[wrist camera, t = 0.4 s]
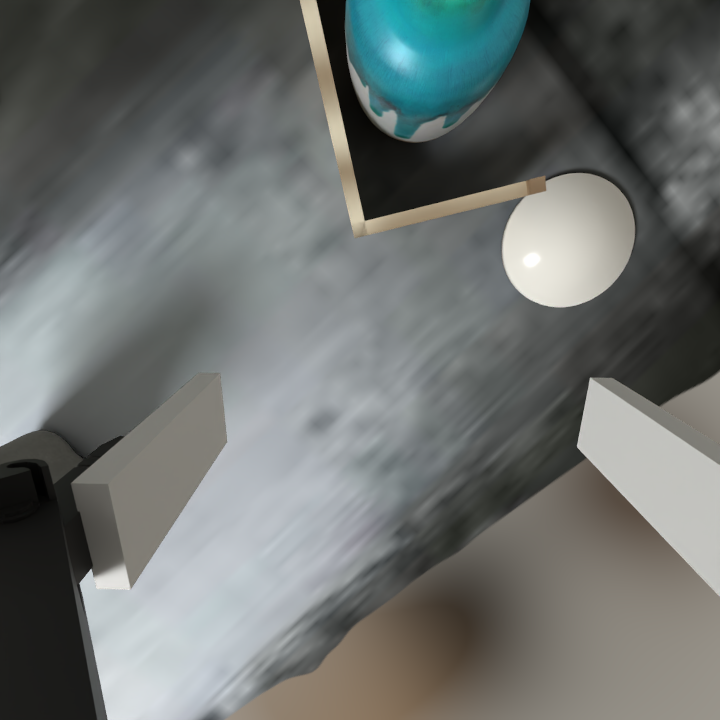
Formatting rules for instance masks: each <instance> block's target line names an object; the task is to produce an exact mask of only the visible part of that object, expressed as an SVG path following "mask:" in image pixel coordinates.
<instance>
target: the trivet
mask: <svg viewBox="0 0 720 720" xmlns="http://www.w3.org/2000/svg"><path fill="white" fill-rule="evenodd" d="M634 238H635V223H634V217H633V213H632V210H631V207H630V205H629V202H628V201H627V199H626V197H625V196H624V195H623V193H622V192H621V191H620V190H619V189H618V188H617V187H616V186H615V185H614V184H612V183H611V182H609V181H607V180H606V179H604V178H601V177H599V176H596V175H592V174H586V173H571V174H565V175H561V176H558V177H555V178H551V179H549V180H547V181H546V191H544V192H540V193H536V194H532V195H528V196H524V197H523V198H522V199H521V200H520V202H519V203H518V204H517V205H516V207H515V208H514V210H513V211H512V213H511V215H510V217H509V219H508V221H507V223H506V226H505V229H504V232H503V238H502V247H501V252H502V261H503V266H504V269H505V272H506V274H507V276H508V278H509V280H510V282H511V283H512V285H513V286H514V287H515V288H516V289H517V290H518V291H519V292H520V293H521V294H522V295H523V296H525V297H526V298H528V299H530V300H532V301H534V302H536V303H539V304H541V305H545V306H550V307H569V306H575V305H578V304H582V303H584V302H587V301H589V300H591V299H593V298H595V297H596V296H598V295H600V294H601V293H602V292H604V291H605V290H606V289H607V288H608V287H610V286H611V285H612V284H613V283H614V281H615V280H616V279H617V278H618V277H619V275H620V274H621V273H622V271H623V270H624V268H625V266H626V264H627V262H628V260H629V258H630V255H631V252H632V249H633V245H634Z"/></svg>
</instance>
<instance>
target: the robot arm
mask: <svg viewBox="0 0 720 720" xmlns="http://www.w3.org/2000/svg"><path fill="white" fill-rule="evenodd" d="M226 443H227V435H226V425H225V416H224V406H223V396H222V387H221V377H220V373H198V374H197V375H196V376H194V377H193V378H192V379H191V380H190V381H189V382H187V383H186V384H185V385H184V386H183V387H182V388H180V389H179V390H178V391H177V392H176V393H175V394H174V395H172V396H171V397H170V398H169V399H168V400H167V401H165V402H164V403H163V404H162V405H161V406H160V407H158V408H157V409H156V410H155V411H154V412H153V413H152V414H150V415H149V416H148V417H147V418H146V419H145V420H143V421H142V422H141V423H140V424H139V425H138V426H136V427H135V428H134V429H133V430H132V431H131V432H130V433H128V434H127V435H126V436H119V437H117V438H115V439H113V440H111V441H109V442H107V443H105V444H103V445H101V446H100V447H98V448H97V449H96V450H95V451H94V452H92V453H91V454H90V455H89V456H88V458H85V459H84V460H83V461H81V462H80V463H79V464H78V465H77V467H74V468H73V469H72V470H70V471H69V472H68V473H67V474H65V475H64V476H63V477H62V478H61V479H59V480H58V481H57V482H56V483H55V484H53V481H52V477H51V473H50V470H49V466H48V464H47V463H46V462H45V461H44V460H39V459H21V460H16V461H11V462H6V463H3V464H0V720H107V715H106V710H105V705H104V700H103V695H102V690H101V685H100V680H99V675H98V670H97V665H96V660H95V655H94V650H93V645H92V641H91V636H90V631H89V626H88V621H87V616H86V611H85V606H84V601H83V596H82V592H81V588H80V584H79V583H80V582H81V580H82V579H83V578H84V577H85V575H86V574H87V573H88V572H89V570H90V569H91V568H92V572H93V576H94V580H95V584H96V588H97V589H128V590H131V588H132V587H133V585H134V584H135V582H136V581H137V579H138V578H139V576H140V574H141V573H142V571H143V570H144V568H145V567H146V565H147V564H148V562H149V561H150V559H151V558H152V556H153V555H154V553H155V551H156V550H157V548H158V547H159V545H160V544H161V542H162V541H163V539H164V538H165V536H166V535H167V533H168V532H169V530H170V529H171V527H172V525H173V524H174V522H175V521H176V519H177V518H178V516H179V515H180V513H181V512H182V510H183V509H184V507H185V506H186V504H187V502H188V501H189V499H190V498H191V496H192V495H193V493H194V492H195V490H196V489H197V487H198V486H199V484H200V483H201V481H202V480H203V478H204V476H205V475H206V473H207V472H208V470H209V469H210V467H211V466H212V464H213V463H214V461H215V460H216V458H217V457H218V455H219V453H220V452H221V450H222V449H223V447H224V446H225V444H226ZM577 448H578V449H579V450H580V451H581V452H582V453H583V454H584V455H585V456H586V457H587V458H588V459H589V460H590V461H591V462H592V463H593V464H594V465H595V466H596V467H597V469H598V470H599V471H601V473H602V474H603V475H604V476H605V477H606V478H607V479H608V480H609V481H610V482H611V483H612V484H613V485H614V486H615V487H616V488H617V489H618V491H619V492H620V493H621V494H622V495H623V496H624V497H625V498H626V499H627V500H628V501H629V502H630V503H631V504H632V505H633V506H634V507H635V508H636V509H637V510H638V511H639V513H641V515H643V517H644V518H645V519H646V520H647V521H648V522H649V523H650V524H651V525H652V526H653V527H654V528H655V529H656V530H657V531H658V532H659V534H661V536H662V537H663V538H664V539H665V540H666V541H667V542H668V543H669V544H670V545H671V546H672V547H673V548H674V549H675V550H676V551H677V552H678V553H679V554H680V555H681V557H682V558H683V559H684V560H685V561H686V562H687V563H688V564H689V565H690V566H691V567H692V568H693V569H694V570H695V571H696V572H697V573H698V574H699V575H700V576H701V577H702V579H703V580H704V581H705V582H706V583H707V584H708V585H709V586H710V587H711V588H712V589H713V590H714V591H715V592H716V593H717V594H718V595H719V596H720V444H718V443H717V442H715V441H714V440H712V439H710V438H709V437H707V436H705V435H704V434H702V433H701V432H699V431H697V430H696V429H694V428H692V427H691V426H689V425H688V424H686V423H684V422H683V421H681V420H679V419H678V418H676V417H674V416H673V415H671V414H670V413H668V412H667V411H665V410H663V409H662V408H660V407H658V406H657V405H655V404H654V403H652V402H650V401H649V400H647V399H645V398H644V397H642V396H641V395H639V394H637V393H636V392H634V391H632V390H631V389H629V388H628V387H626V386H624V385H623V384H621V383H619V382H618V381H616V380H615V379H613V378H590V382H589V387H588V392H587V398H586V403H585V408H584V413H583V418H582V423H581V429H580V434H579V439H578V444H577Z"/></svg>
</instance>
